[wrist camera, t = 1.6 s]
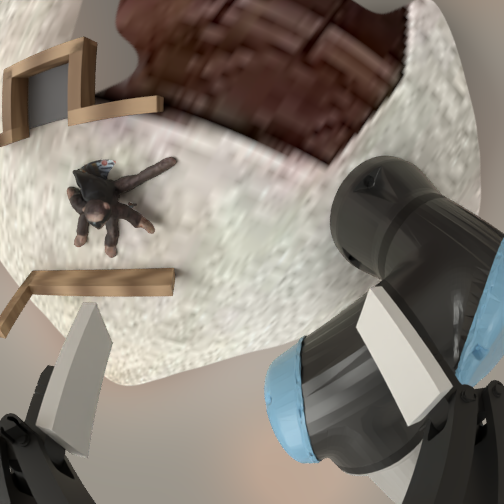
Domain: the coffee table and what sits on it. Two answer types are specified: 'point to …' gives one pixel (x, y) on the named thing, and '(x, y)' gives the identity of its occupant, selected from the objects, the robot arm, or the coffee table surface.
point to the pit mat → (48, 96)
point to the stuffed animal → (108, 200)
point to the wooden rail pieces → (79, 111)
